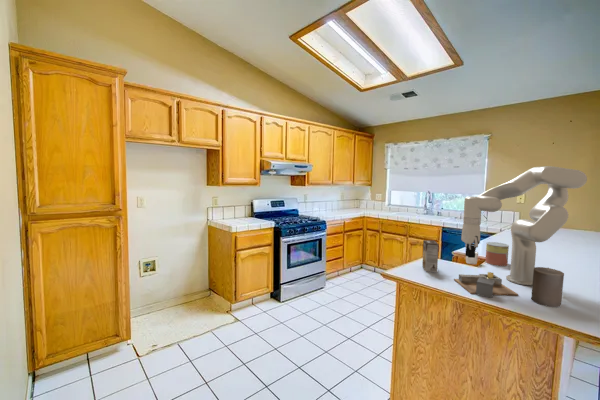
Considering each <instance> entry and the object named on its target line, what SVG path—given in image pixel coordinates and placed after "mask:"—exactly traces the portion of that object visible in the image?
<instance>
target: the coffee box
mask: <svg viewBox="0 0 600 400" xmlns="http://www.w3.org/2000/svg"><path fill="white" fill-rule="evenodd" d="M422 241H423V243H422V244H423V245H422V269H424V271H425V272H426V273H427V272H428V273H438V264H439V263H438V262H439V245H440V244H439V243H438V242H437V241H436V240H427V239H424V240H422Z"/></svg>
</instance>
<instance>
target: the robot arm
mask: <svg viewBox="0 0 600 400" xmlns="http://www.w3.org/2000/svg"><path fill="white" fill-rule="evenodd" d="M587 181H588V176H587V175H586V173H585V172H583V171H581V170H579V169H573V168H565V167H559V166H552V165H546V166H545V165H544V166H534V167H531V168H529V169H527V170H526V171H524V172H523V173H521V174H519V175H518V176H515V177H514V178H512V179H511V180H509V181H507V182H505V183H504V182H503V183H502V184H500V185H497V186H495V187H492V188H490V189H488V190H486V191H484V192H482V193H481V194H479V195H478V196H465V198H464V203H463V223H462V229H461V235H460V236H461V238H460V239H461V241H462V243H463V242H464V244H465V245H464V246H465V257H466V256H468V257H469V258H475V252H476V250H477V248H478V247H479V245H480V243H481V223H482V212H489V213H494V212H498V211H499V210H501V209H502V206H503V203H502V200H505V199H511V198H516V197H519V196H523V195H524V194H526V193H528V192H530V191H531V190H533V189H534V188H537V187H538V186H539V185H547V192H546V194H545V195H544V196H543V197H542V198H541V199H540V200H539V201H538V202H537V203H536V204H535V205H534V206H533V207H532V208H531V209H530V210H529V217H530V219H527V218H526V219H525V218H522V219H521V218H519V219H516V220H514V221H513V222H512V224H511V226H510V234H511V256H510V257H511V259H510V270H509V272H510V273H509V274H508V275H506V280H507V281H509V282H511V283H513V284H517V285H522V286H527V287H528V286H530V287H531V286H532V283H533V272H534V268H535V267H536V256H537V245H536V243H544V242H546V241H548V240H549V239H550V238H551V237H553V235H555V234H557V232H558V231H559V230H560V229H562V228H563V226H565V224H566V223H567V221H568V220H569V212H568V210H567V208H565V207H564V206H566V204H567V203H568V200H569V191H568V189H575V190H576V189H579V188H582V187H583V186H585V185H586V183H587Z"/></svg>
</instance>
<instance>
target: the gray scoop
mask: <svg viewBox="0 0 600 400" xmlns="http://www.w3.org/2000/svg"><path fill="white" fill-rule="evenodd" d="M487 275H488V273H487V274H485V273H479V274H458V279H459V281H460V282H461V283H477V280H478V279H479V277H481V278H486V279H491V280H495V283H494V285H493V286H502V284H503V279H502V278H501V277H498V276H497V275H495V274H493V278H487Z"/></svg>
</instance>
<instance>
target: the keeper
mask: <svg viewBox="0 0 600 400" xmlns="http://www.w3.org/2000/svg"><path fill="white" fill-rule="evenodd" d="M494 283H495V280H491V279H486V278H481V277H479V279H478V280H477V284H476V294H475V295H477V296H482V297H486V298H490V299H492V298H493V296H494V295H493V285H494Z"/></svg>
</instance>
